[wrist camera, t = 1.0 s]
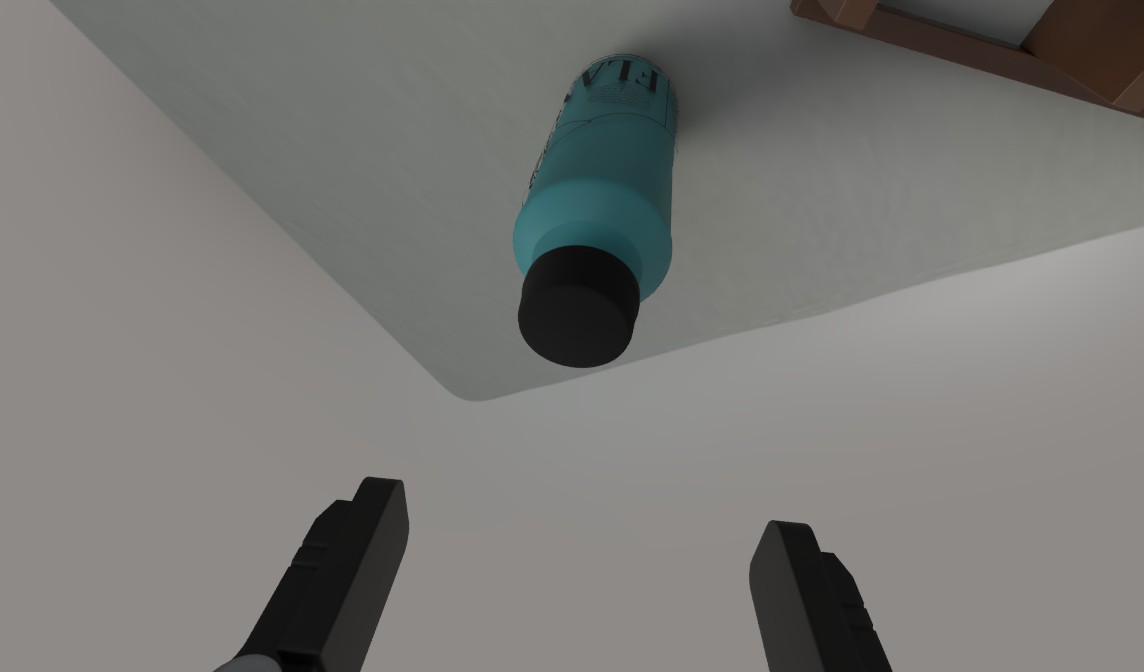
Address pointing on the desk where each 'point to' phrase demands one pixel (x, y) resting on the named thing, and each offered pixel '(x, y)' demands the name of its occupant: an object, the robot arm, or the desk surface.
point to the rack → (1045, 58)
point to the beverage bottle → (598, 214)
